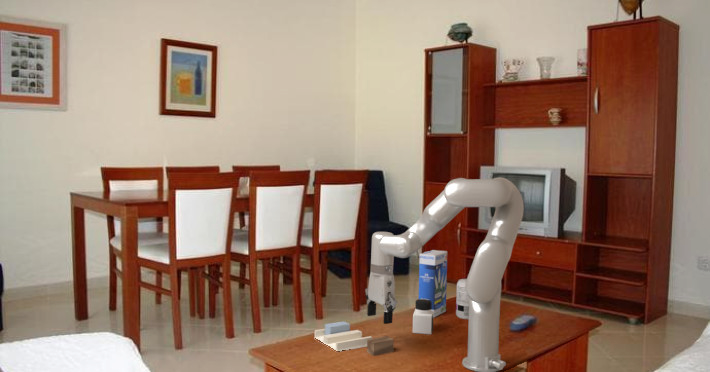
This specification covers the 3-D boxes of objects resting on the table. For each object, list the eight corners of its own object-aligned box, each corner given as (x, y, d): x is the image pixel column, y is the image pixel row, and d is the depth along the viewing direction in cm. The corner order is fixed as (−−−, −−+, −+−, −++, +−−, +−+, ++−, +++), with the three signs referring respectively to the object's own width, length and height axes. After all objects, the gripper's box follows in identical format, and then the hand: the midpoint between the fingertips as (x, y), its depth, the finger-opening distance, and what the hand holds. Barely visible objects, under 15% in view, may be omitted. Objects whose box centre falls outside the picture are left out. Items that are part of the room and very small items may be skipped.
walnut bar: (393, 352, 200) (393, 339, 200) (373, 356, 196) (373, 342, 195) (386, 348, 203) (386, 336, 203) (367, 352, 199) (367, 339, 199)
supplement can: (452, 314, 247) (453, 279, 246) (470, 313, 249) (471, 278, 248) (461, 320, 239) (462, 283, 238) (479, 318, 241) (480, 282, 241)
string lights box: (433, 318, 241) (435, 255, 240) (416, 315, 245) (418, 253, 244) (446, 311, 252) (448, 251, 251) (430, 308, 256) (431, 249, 255)
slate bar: (349, 336, 213) (349, 324, 213) (330, 339, 209) (330, 327, 209) (343, 333, 217) (344, 321, 216) (324, 336, 212) (324, 324, 212)
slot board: (372, 345, 206) (372, 337, 206) (337, 352, 199) (337, 343, 198) (347, 332, 220) (348, 325, 219) (314, 338, 212) (314, 330, 212)
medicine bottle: (431, 334, 219) (432, 302, 219) (412, 333, 221) (413, 301, 220) (433, 329, 226) (433, 298, 226) (414, 327, 228) (415, 297, 227)
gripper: (406, 273, 193) (403, 325, 194) (376, 263, 207) (374, 311, 208) (387, 275, 189) (384, 328, 190) (358, 264, 203) (356, 313, 204)
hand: (379, 319), depth 199 cm, fingers open, 9 cm apart
